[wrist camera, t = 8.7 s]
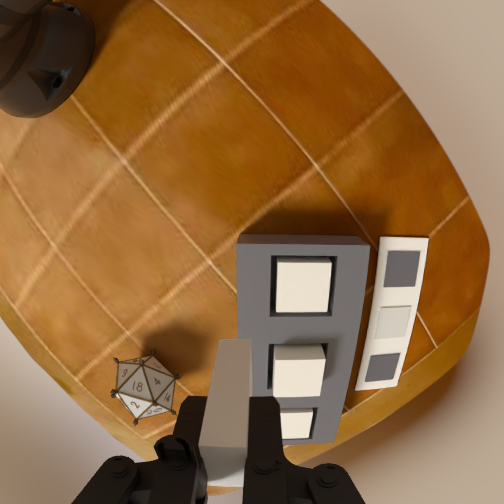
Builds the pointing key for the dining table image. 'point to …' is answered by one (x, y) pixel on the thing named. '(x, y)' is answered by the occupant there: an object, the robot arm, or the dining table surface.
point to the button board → (303, 319)
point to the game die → (144, 387)
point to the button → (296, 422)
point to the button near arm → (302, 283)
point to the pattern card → (392, 310)
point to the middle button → (298, 370)
